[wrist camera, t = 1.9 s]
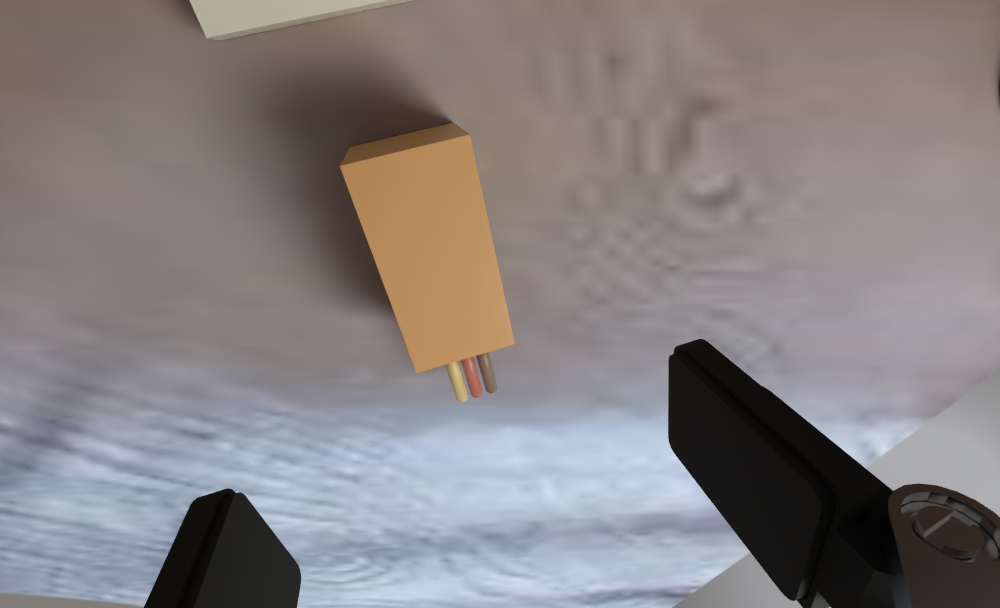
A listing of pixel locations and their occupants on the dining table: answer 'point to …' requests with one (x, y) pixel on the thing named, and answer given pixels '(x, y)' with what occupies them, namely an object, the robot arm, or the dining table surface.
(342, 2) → the board
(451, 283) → the plug housing
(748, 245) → the dining table surface
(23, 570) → the dining table surface
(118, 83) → the dining table surface
